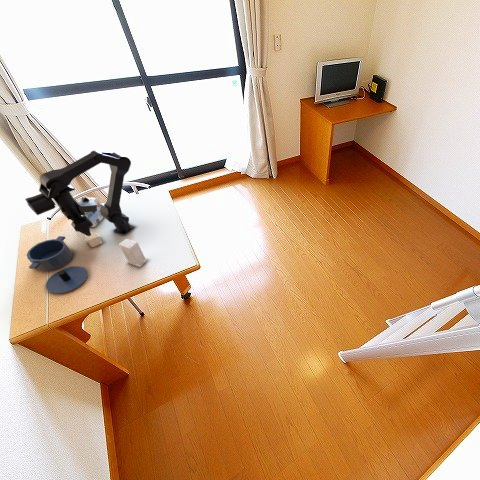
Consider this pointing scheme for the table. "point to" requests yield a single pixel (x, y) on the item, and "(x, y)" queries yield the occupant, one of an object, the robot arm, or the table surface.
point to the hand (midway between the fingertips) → (85, 230)
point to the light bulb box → (94, 213)
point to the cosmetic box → (132, 252)
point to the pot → (49, 254)
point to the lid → (66, 279)
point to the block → (93, 239)
